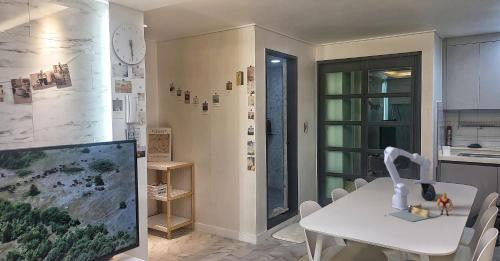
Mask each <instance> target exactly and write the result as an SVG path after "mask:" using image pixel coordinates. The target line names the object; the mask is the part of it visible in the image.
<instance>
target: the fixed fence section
mask: <svg viewBox="0 0 500 261" xmlns="http://www.w3.org/2000/svg"><path fill="white" fill-rule="evenodd" d="M412 207H415V208H418V209H422V203H418V204H416V205H414V204H413V205H412Z"/></svg>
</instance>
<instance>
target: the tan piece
mask: <svg viewBox="0 0 500 261" xmlns="http://www.w3.org/2000/svg"><path fill="white" fill-rule="evenodd" d="M429 212H430V210H429V209H426V210H425V209H422V208H421V209H418V208H415V207H412V213H416V214H419V215H423V216H426V217H429Z"/></svg>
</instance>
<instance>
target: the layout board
mask: <svg viewBox="0 0 500 261" xmlns="http://www.w3.org/2000/svg"><path fill="white" fill-rule="evenodd" d="M388 215H389V216H393V217H396V218H399V219H401V220H404V221H408V222H411V223H414V222H415V223H416V222H418V221H423V220H428V219H429V220H430V219H433V218H438V217H441V215H442V214H441V215H440V214H437V213H434V212H431V211H429V217H426V216H423V215H419V214H416V213H410V212H408V209H405V210H400V211H396V212H391V213H390V212H389V213H388Z"/></svg>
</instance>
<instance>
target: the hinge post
mask: <svg viewBox="0 0 500 261" xmlns="http://www.w3.org/2000/svg"><path fill="white" fill-rule="evenodd" d="M412 206H413V205H412V204H407V207H408V209H407V210H408V212H410V213H412Z"/></svg>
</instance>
